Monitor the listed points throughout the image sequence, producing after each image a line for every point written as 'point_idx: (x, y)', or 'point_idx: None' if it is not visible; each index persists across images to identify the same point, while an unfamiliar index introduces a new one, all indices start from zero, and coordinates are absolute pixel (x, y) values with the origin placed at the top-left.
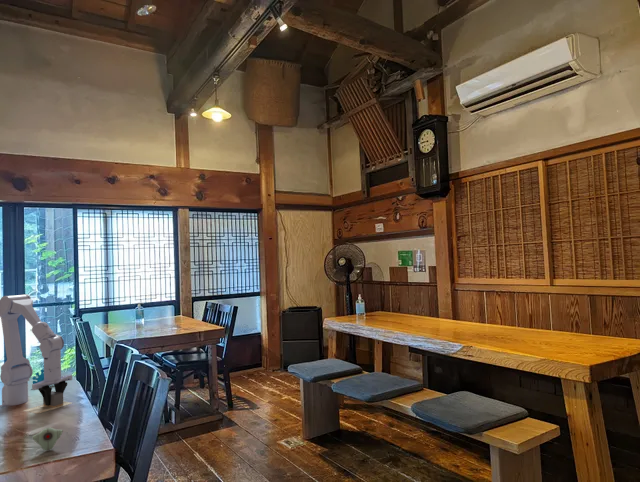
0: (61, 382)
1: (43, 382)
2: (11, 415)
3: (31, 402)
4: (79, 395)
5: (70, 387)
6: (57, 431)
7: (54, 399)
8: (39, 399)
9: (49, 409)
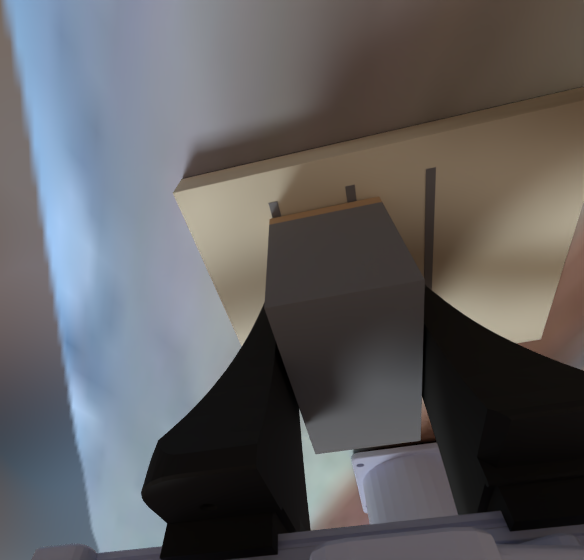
0: (238, 533)
1: None
2: (568, 349)
3: (345, 467)
4: (89, 410)
5: (123, 527)
6: None
7: (397, 243)
8: None
9: (447, 163)
